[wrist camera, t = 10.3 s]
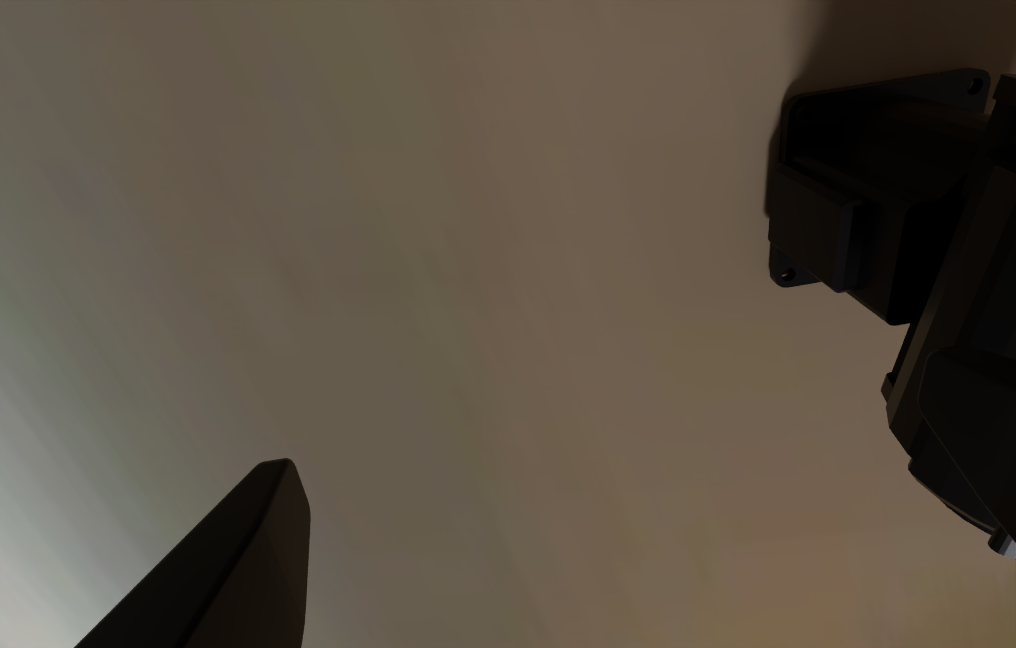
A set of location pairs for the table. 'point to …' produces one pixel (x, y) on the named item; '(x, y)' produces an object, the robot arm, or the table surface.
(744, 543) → the table surface
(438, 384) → the table surface
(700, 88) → the table surface
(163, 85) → the table surface
